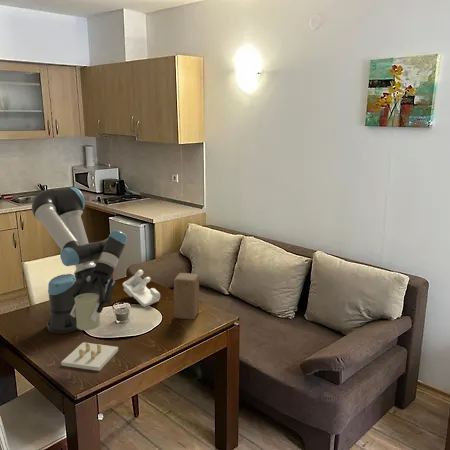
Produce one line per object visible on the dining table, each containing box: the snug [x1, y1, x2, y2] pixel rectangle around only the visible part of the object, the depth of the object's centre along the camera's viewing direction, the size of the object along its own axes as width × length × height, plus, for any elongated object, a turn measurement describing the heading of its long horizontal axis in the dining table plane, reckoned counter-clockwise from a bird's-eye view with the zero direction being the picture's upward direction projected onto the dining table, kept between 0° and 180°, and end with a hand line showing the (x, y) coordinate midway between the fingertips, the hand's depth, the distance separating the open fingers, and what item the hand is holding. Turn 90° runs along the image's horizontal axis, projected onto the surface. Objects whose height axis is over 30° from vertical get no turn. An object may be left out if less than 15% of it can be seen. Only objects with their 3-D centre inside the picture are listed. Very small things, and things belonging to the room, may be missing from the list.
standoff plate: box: [60, 341, 119, 372], centre depth 183 cm, size 16×16×4 cm
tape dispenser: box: [122, 269, 161, 308], centre depth 238 cm, size 20×11×13 cm, turn 53°
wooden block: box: [173, 272, 200, 320], centre depth 220 cm, size 10×10×20 cm
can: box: [74, 293, 102, 331], centre depth 178 cm, size 9×9×12 cm
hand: (82, 317), depth 176 cm, fingers closed on can, 9 cm apart
